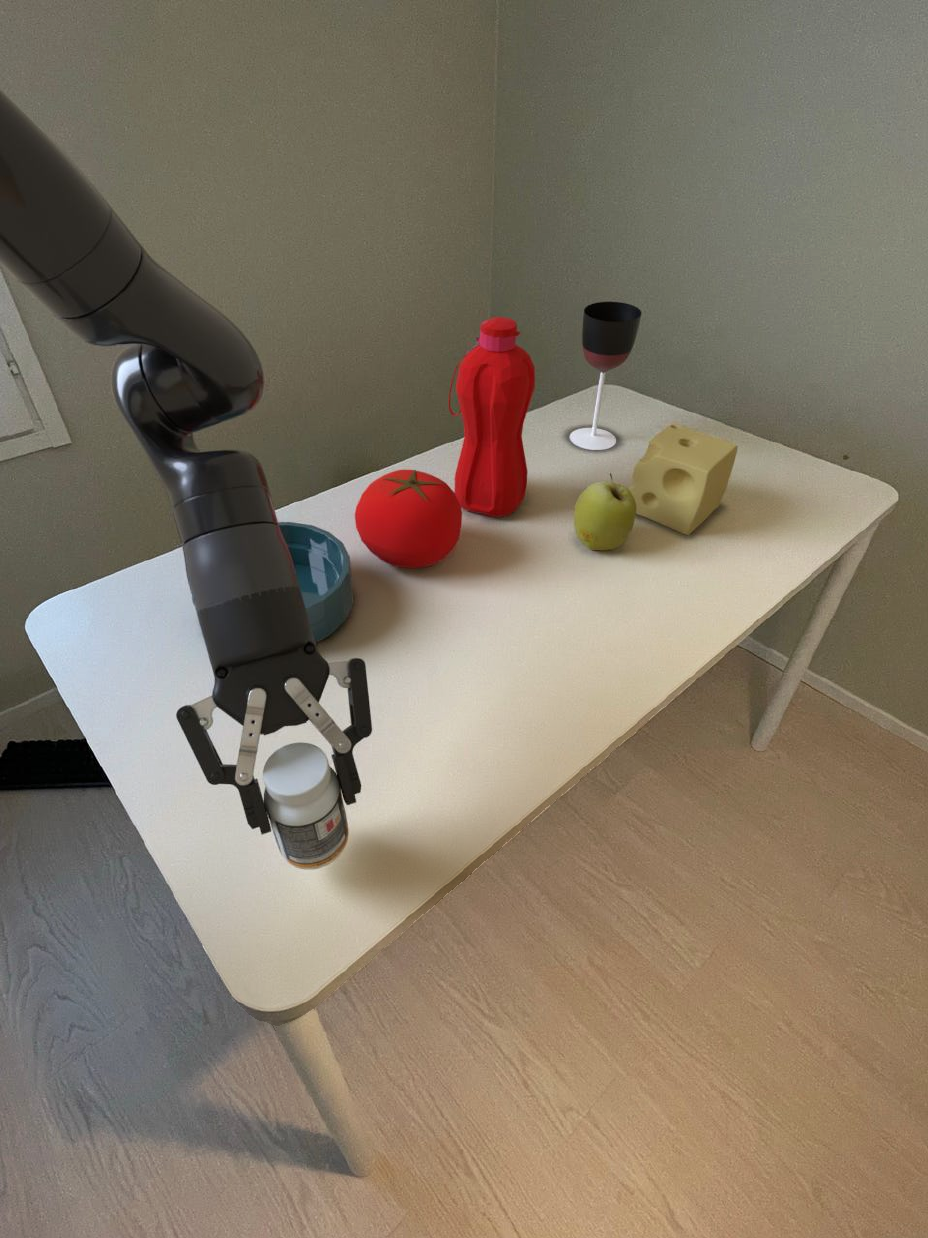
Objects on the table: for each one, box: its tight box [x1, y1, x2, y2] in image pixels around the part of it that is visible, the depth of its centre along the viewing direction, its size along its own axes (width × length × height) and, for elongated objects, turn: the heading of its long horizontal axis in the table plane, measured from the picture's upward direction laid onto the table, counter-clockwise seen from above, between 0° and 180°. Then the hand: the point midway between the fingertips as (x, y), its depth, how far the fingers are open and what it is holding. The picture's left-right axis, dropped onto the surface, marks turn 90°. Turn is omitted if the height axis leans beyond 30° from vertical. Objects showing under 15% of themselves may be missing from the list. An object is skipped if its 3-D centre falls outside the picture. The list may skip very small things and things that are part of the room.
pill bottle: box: [262, 742, 350, 871], centre depth 54 cm, size 6×6×10 cm
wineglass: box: [569, 301, 642, 451], centre depth 108 cm, size 8×9×20 cm
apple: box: [573, 473, 637, 551], centre depth 90 cm, size 8×8×10 cm
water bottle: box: [448, 316, 536, 518], centre depth 92 cm, size 9×11×25 cm
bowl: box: [278, 521, 354, 644], centre depth 80 cm, size 17×17×6 cm
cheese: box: [627, 422, 739, 536], centre depth 96 cm, size 10×11×10 cm
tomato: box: [354, 469, 463, 569], centre depth 87 cm, size 12×13×11 cm
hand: (309, 815), depth 52 cm, fingers closed on pill bottle, 5 cm apart
